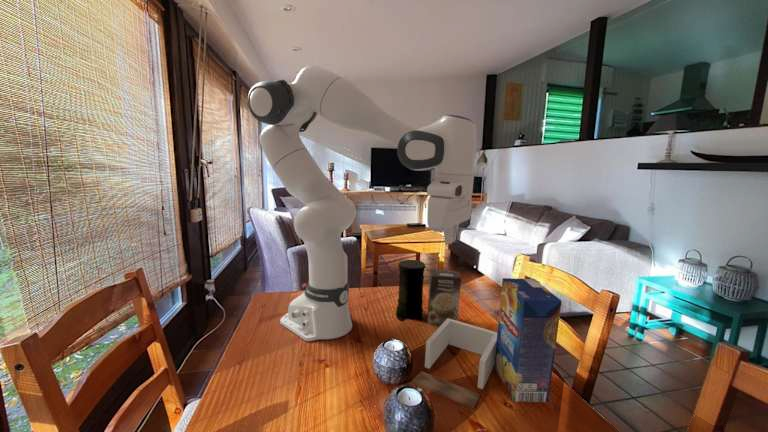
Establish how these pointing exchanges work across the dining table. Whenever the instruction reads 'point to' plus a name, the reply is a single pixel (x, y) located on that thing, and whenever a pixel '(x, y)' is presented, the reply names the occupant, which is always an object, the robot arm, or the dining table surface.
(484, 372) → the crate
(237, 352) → the dining table surface
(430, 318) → the coffee box
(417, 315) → the container
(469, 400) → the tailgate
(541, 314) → the juice carton
